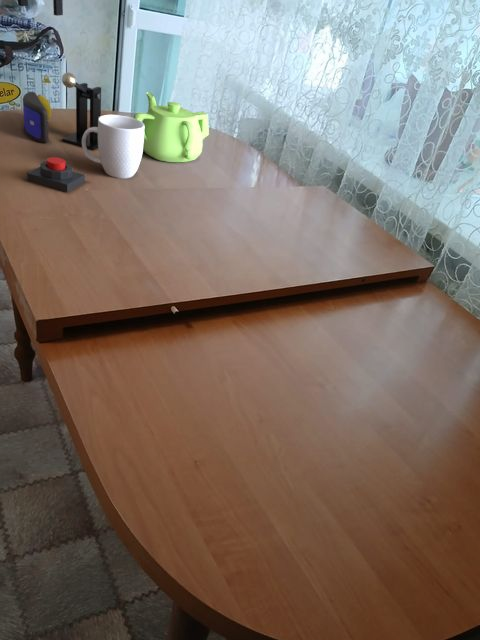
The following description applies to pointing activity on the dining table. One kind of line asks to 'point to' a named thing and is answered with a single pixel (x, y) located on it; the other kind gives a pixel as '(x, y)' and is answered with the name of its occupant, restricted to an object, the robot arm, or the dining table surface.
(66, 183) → the button box
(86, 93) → the lever
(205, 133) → the teapot
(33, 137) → the blue panel tablet
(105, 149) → the mug
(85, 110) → the pendulum stand
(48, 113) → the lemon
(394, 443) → the dining table surface
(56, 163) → the button
